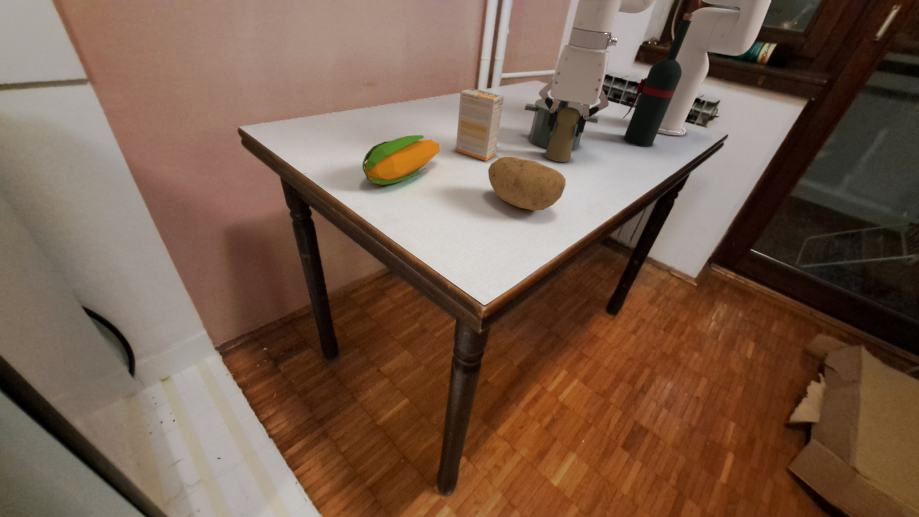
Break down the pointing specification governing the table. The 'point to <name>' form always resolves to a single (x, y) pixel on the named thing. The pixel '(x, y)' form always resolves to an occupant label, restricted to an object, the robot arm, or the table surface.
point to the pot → (548, 128)
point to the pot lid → (543, 106)
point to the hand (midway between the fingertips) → (564, 131)
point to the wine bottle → (656, 93)
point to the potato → (526, 183)
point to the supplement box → (478, 123)
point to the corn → (398, 159)
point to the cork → (563, 134)
